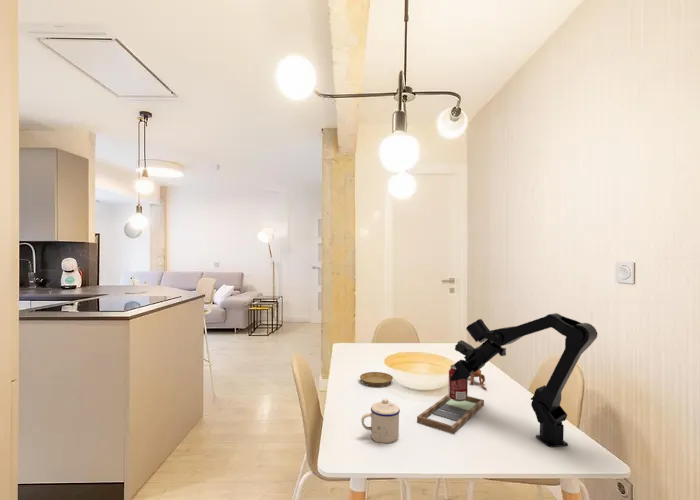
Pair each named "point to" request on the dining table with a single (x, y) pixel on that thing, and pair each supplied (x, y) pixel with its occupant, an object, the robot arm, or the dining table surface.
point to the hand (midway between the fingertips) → (454, 377)
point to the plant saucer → (376, 378)
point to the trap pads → (450, 415)
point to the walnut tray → (445, 427)
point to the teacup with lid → (383, 421)
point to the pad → (461, 404)
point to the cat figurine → (478, 374)
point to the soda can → (457, 387)
